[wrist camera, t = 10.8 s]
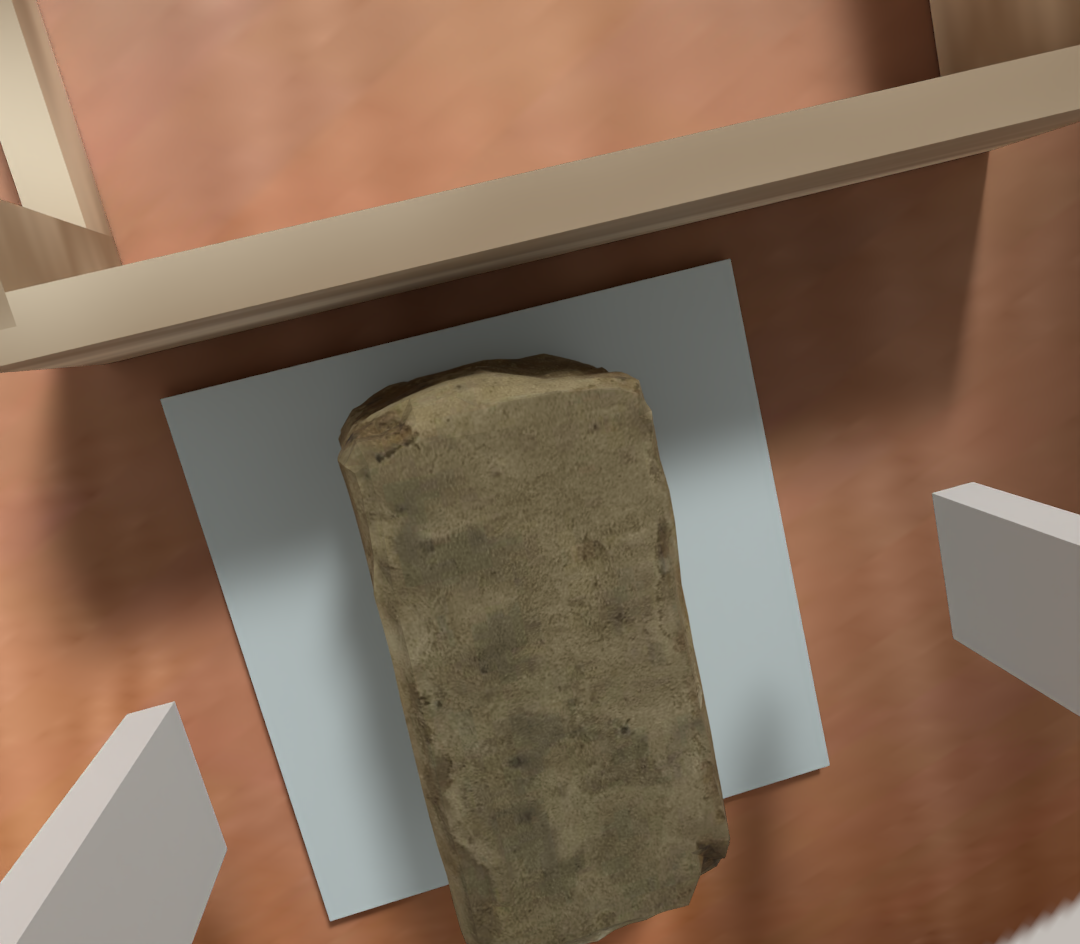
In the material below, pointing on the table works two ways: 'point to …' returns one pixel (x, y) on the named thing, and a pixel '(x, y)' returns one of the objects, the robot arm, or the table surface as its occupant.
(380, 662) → the mat
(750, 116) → the table surface
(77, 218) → the slotted box
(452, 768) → the stone block
